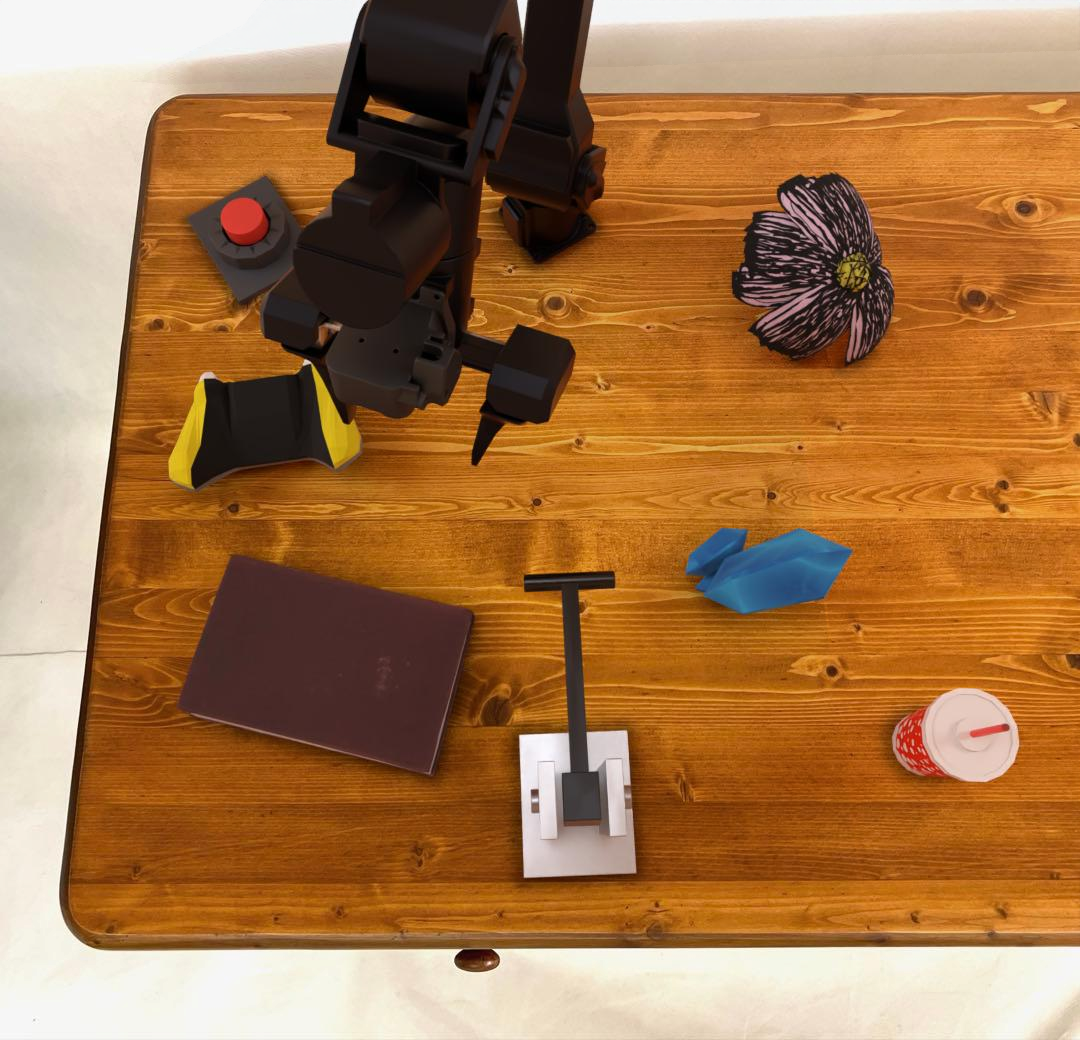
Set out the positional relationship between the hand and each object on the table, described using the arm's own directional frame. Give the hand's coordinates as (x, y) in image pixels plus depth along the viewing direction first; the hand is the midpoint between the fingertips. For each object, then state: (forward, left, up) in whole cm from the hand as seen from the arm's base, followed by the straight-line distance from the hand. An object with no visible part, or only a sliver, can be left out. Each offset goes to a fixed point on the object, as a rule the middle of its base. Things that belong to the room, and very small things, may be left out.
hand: (412, 441), depth 66 cm
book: (+13, +7, -14) cm, 20 cm away
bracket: (+3, +26, -14) cm, 29 cm away
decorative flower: (-36, +2, -14) cm, 38 cm away
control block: (+1, -30, -14) cm, 33 cm away
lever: (0, +20, -2) cm, 20 cm away
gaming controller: (+8, -12, -14) cm, 20 cm away
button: (+1, -30, -11) cm, 32 cm away
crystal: (-18, +19, -14) cm, 29 cm away
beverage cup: (-21, +36, -14) cm, 44 cm away
